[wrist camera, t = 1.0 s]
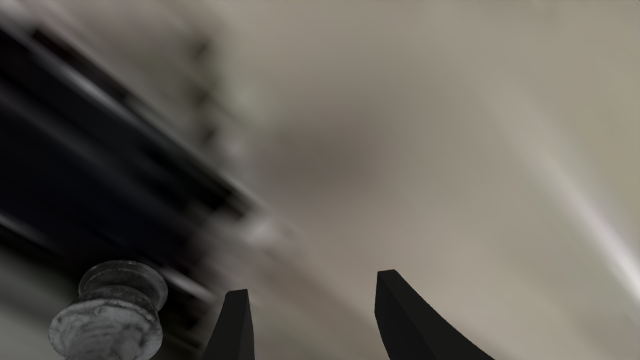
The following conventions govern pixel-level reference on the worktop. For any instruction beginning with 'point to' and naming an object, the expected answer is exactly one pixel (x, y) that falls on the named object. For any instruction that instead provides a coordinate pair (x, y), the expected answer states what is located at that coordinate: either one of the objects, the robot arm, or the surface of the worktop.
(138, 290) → the grey stone vase
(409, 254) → the worktop surface
